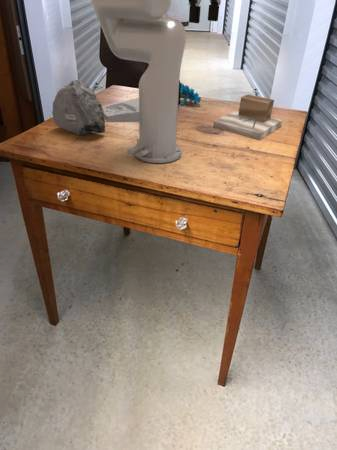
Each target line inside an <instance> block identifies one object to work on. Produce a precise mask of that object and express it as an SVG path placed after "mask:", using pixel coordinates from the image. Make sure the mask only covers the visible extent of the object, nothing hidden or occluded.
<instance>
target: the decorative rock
mask: <svg viewBox="0 0 337 450" xmlns="http://www.w3.org/2000/svg"><path fill="white" fill-rule="evenodd" d="M51 114H52V117H53V118H52V119H53V123H54V124H55V125H56V127H59V128H61V129H64V130H65V131H68V132H70V133H74V134H75V135H77V136H78V135H80V136H81V135H82V136H83V135H84V136H85V135H89V134H91V133H95V134H103V133H105V132H106V121H105V119H104V111H103V109H102V104H101V102H100V101H99V99H98V98H97V95H96V93H95V92H94V91H93V90H92V88H90V86H89V85H88V84H87V83H85V82H83V81H81V80H80V79H79V80H77V79H75V80H71V81H70V83H69V84H65V85H64V86H63V87H62V88H60V89H58V91H57V92H56V96H55V97H54V100H53V101H52V113H51Z"/></svg>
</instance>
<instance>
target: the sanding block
mask: <svg viewBox="0 0 337 450" xmlns="http://www.w3.org/2000/svg"><path fill="white" fill-rule="evenodd" d="M274 104H275V99H272V98H268V97H264V96H263V97H262V96H257V95H254V94H245V95H244V96H241V98H240V103H239V109H238V110H239V114H238V116H239V117H243V118H247V119H251V120H255V121H259V122H263V123H264V122H266V121H268V120H269V119H270V118H272V114H273V113H272V112H273V107H274Z"/></svg>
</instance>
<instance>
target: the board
mask: <svg viewBox="0 0 337 450" xmlns="http://www.w3.org/2000/svg"><path fill="white" fill-rule="evenodd" d="M238 114H239V109H236V110H234V111H232V112H229V113H228V114H225V115H224V116H221V117H219V118H216V119H215V120H213V123H212V125H213V126H212V128H215V129H219V130H223V131H225V132H226V131H227V132H229V133H232V134H233V133H234V134H237V135H240V136H243V137H248V138H252V139H255V140H257V141H260V140H262V139H263V138H265V137H267V136H268V135H270V134H272V133H273V132H275V131H276V130H277V129H279V128H281V127H282V123H283V120H282V119H279V118H275V117H271V118H270V119H269V120H268V121H266V122H264V123H263V122H259V121H255V120H251V119H247V118H243V117H239V116H238Z"/></svg>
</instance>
